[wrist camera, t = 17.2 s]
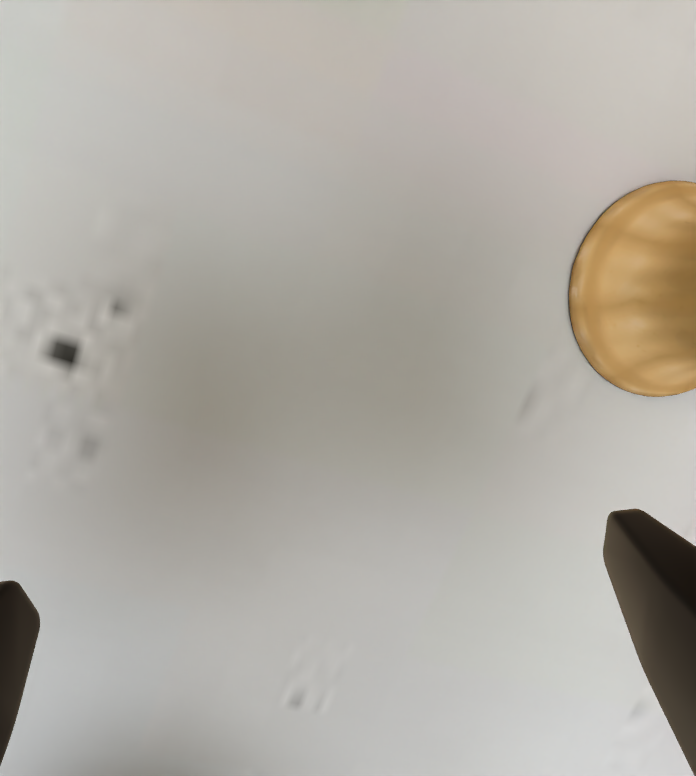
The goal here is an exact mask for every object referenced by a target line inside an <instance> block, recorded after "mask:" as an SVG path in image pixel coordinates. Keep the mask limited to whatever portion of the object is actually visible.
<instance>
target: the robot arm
mask: <svg viewBox="0 0 696 776" xmlns="http://www.w3.org/2000/svg"><path fill="white" fill-rule="evenodd" d="M603 556H604V562H605V566H606V569H607V572H608V574H609V577H610V580H611V583H612V585H613V588H614V591H615V594H616V597H617V599H618V602H619V605H620V608H621V610H622V613H623V616H624V619H625V622H626V624H627V627H628V630H629V633H630V635H631V638H632V641H633V644H634V647H635V649H636V652H637V655H638V657H639V660H640V662H641V665H642V667H643V670H644V672H645V674H646V676H647V678H648V681H649V683H650V685H651V687H652V689H653V691H654V693H655V695H656V697H657V699H658V701H659V704H660V706H661V708H662V710H663V712H664V714H665V716H666V718H667V720H668V722H669V724H670V726H671V728H672V730H673V732H674V734H675V736H676V739H677V741H678V743H679V745H680V747H681V749H682V751H683V753H684V755H685V757H686V759H687V761H688V763H689V765H690V767H691V769H692V772H693V774H694V776H696V546H694V545H693V544H691V543H690V542H688V541H687V540H685V539H684V538H682V537H681V536H679V535H678V534H676V533H675V532H673V531H672V530H671V529H669V528H668V527H666V526H665V525H663V524H662V523H660V522H659V521H657V520H656V519H654V518H653V517H651V516H650V515H648V514H647V513H646V512H644V511H642V510H639V509H628V510H620V511H613V512H611V513H610V514H609V516H608V519H607V526H606V533H605V540H604V548H603ZM39 629H40V617H39V613H38V611H37V610H36V608H35V607H34V605H33V604H32V602H31V601H30V599H29V598H28V596H27V595H26V593H25V592H24V590H23V589H22V587H21V586H20V584H19V583H17V582H15V581H2V582H0V765H1V762H2V760H3V757H4V754H5V751H6V749H7V746H8V743H9V740H10V737H11V734H12V731H13V727H14V724H15V721H16V717H17V714H18V710H19V706H20V702H21V699H22V695H23V691H24V687H25V683H26V679H27V675H28V672H29V668H30V664H31V660H32V656H33V652H34V649H35V645H36V641H37V637H38V633H39Z"/></svg>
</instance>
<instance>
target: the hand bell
mask: <svg viewBox="0 0 696 776" xmlns="http://www.w3.org/2000/svg"><path fill="white" fill-rule="evenodd" d="M569 308H570V317H571V323H572V328H573V331H574V334H575V336H576V339H577V342H578V344H579V347H580V349H581V351H582V352H583V354H584V355H585V357H586V358H587V360H588V361H589V363H590V364H591V365H592V367H593V368H594V369H595V370H596V371H597V372H598V373H599V374H600V375H601V376H603V377H604V378H605V379H606V380H607V381H609V382H610V383H612V384H614V385H615V386H617V387H619V388H621V389H623V390H626V391H628V392H631V393H634V394H639V395H643V396H651V397H660V396H670V395H677V394H680V393H683V392H686V391H689V390H692V389H695V388H696V183H693V182H687V181H666V182H660V183H654V184H650V185H647V186H644V187H642V188H639V189H637V190H635V191H633V192H631V193H629V194H627V195H626V196H624V197H623V198H621V199H620V200H618V201H617V202H615V203H614V204H613V205H612V206H611V207H610V208H609V209H608V210H607V211H606V212H604V213H603V215H602V216H601V217H600V218H599V219H598V220H597V222H596V223H595V224H594V226H593V227H592V229H591V230H590V232H589V233H588V235H587V236H586V238H585V240H584V242H583V244H582V245H581V247H580V250H579V253H578V255H577V257H576V260H575V262H574V265H573V269H572V274H571V282H570V288H569Z"/></svg>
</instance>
